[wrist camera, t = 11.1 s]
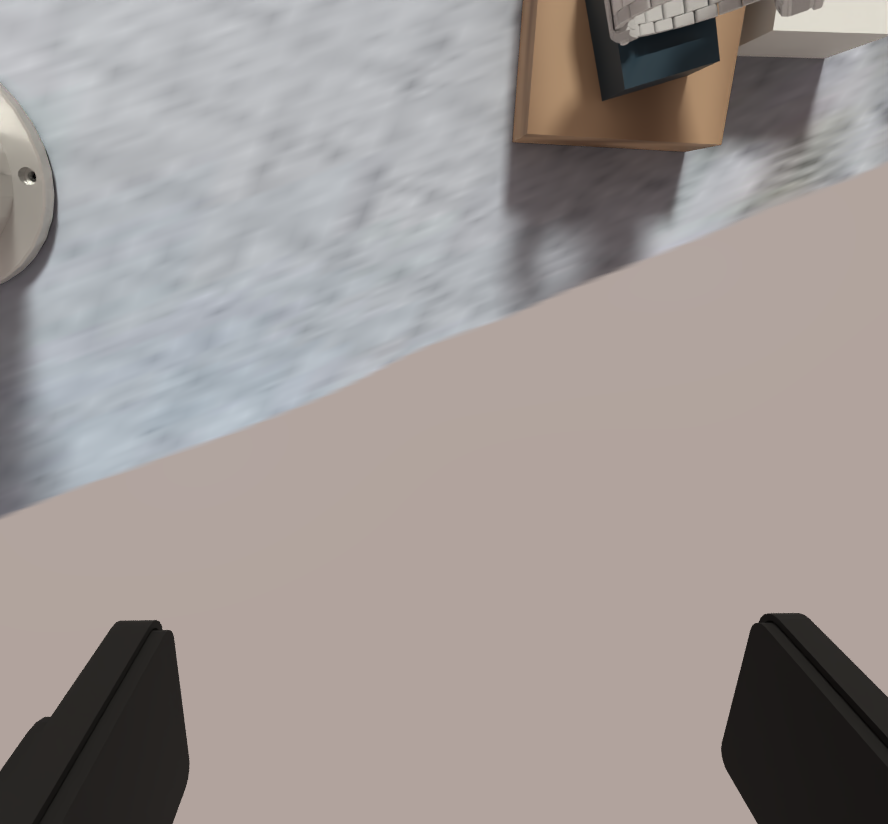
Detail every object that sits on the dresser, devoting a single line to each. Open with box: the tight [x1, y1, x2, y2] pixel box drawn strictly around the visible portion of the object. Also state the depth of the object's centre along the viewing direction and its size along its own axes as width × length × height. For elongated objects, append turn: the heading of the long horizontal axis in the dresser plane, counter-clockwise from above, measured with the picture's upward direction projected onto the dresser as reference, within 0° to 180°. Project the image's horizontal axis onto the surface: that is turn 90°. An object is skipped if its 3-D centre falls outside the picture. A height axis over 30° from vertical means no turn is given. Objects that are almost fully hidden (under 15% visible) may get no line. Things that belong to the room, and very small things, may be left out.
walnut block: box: [513, 0, 746, 152], centre depth 30 cm, size 10×10×4 cm
